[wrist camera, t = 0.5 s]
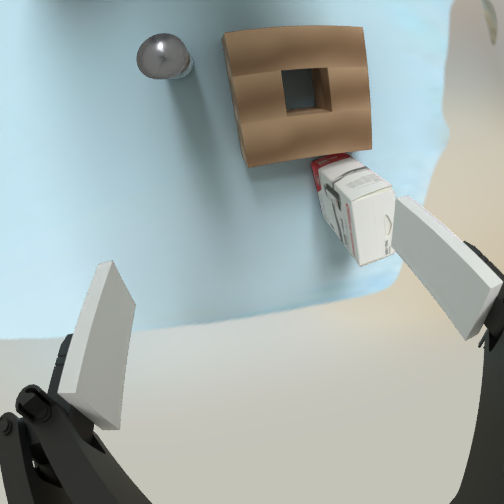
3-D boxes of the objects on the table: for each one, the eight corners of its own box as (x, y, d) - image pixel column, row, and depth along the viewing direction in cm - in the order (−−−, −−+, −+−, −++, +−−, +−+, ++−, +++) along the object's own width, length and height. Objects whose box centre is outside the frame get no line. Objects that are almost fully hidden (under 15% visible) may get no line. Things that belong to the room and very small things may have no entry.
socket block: (221, 39, 26) (224, 32, 22) (342, 31, 26) (362, 27, 22) (242, 155, 34) (248, 167, 30) (352, 139, 34) (371, 149, 30)
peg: (161, 55, 26) (132, 41, 14) (190, 48, 26) (181, 28, 14) (166, 81, 28) (141, 85, 16) (195, 75, 28) (190, 72, 16)
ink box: (308, 160, 35) (349, 198, 26) (343, 149, 35) (394, 183, 25) (322, 218, 40) (359, 270, 30) (353, 207, 40) (398, 254, 30)
